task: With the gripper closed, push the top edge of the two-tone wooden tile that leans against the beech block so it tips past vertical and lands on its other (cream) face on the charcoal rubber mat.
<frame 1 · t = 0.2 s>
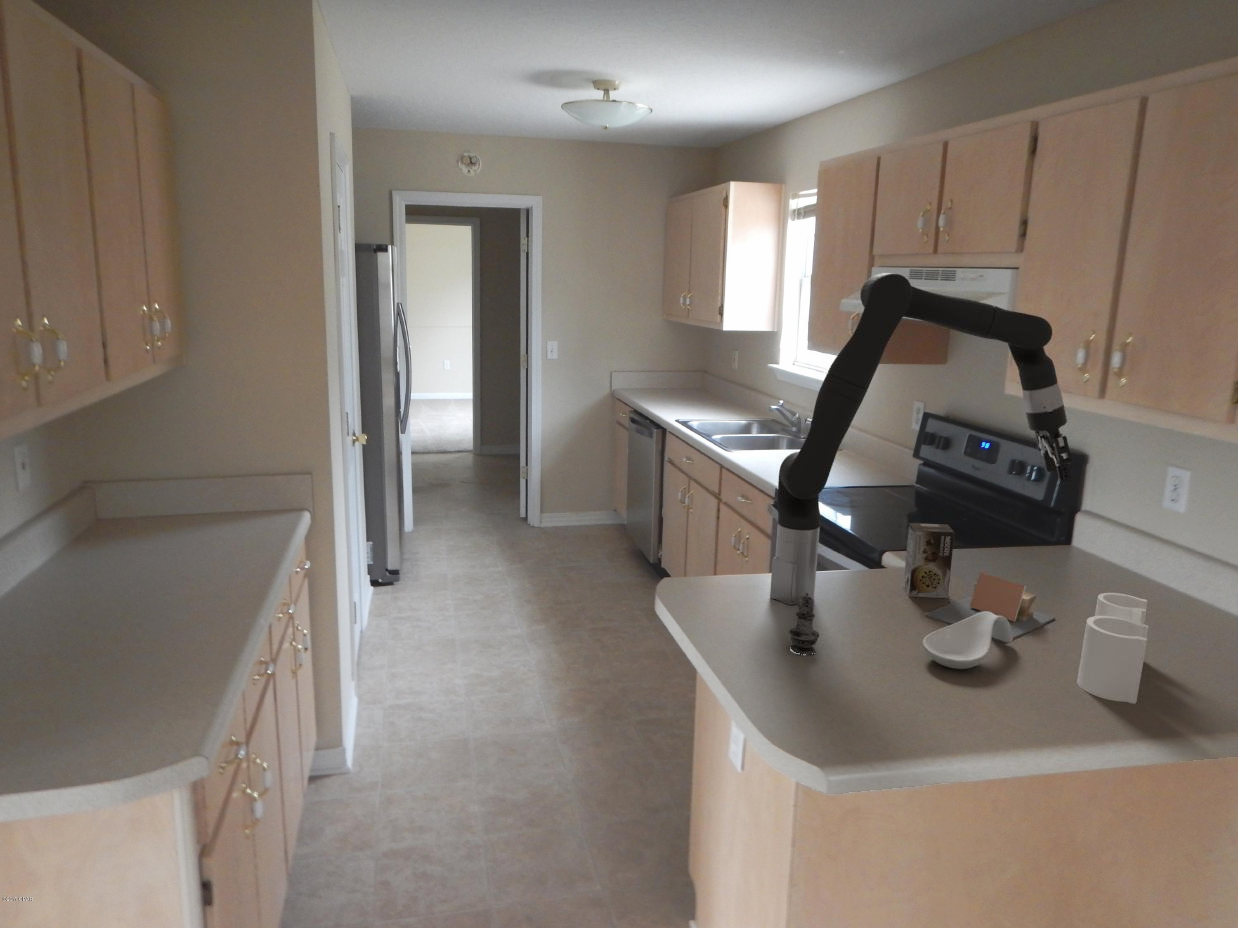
hand: (1058, 475, 195), 30 cm above the countertop, tool tilted 20°, fingers open, 8 cm apart
bracket: (1109, 674, 168), on the countertop
block: (1001, 612, 197), resting on mat
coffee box: (924, 593, 208), on the countertop
tile: (997, 596, 194), point 4 cm above the countertop, touching block, mat
chess piece: (802, 651, 174), on the countertop
spoon rest: (969, 655, 174), on the countertop, touching mat
mat: (990, 617, 194), on the countertop
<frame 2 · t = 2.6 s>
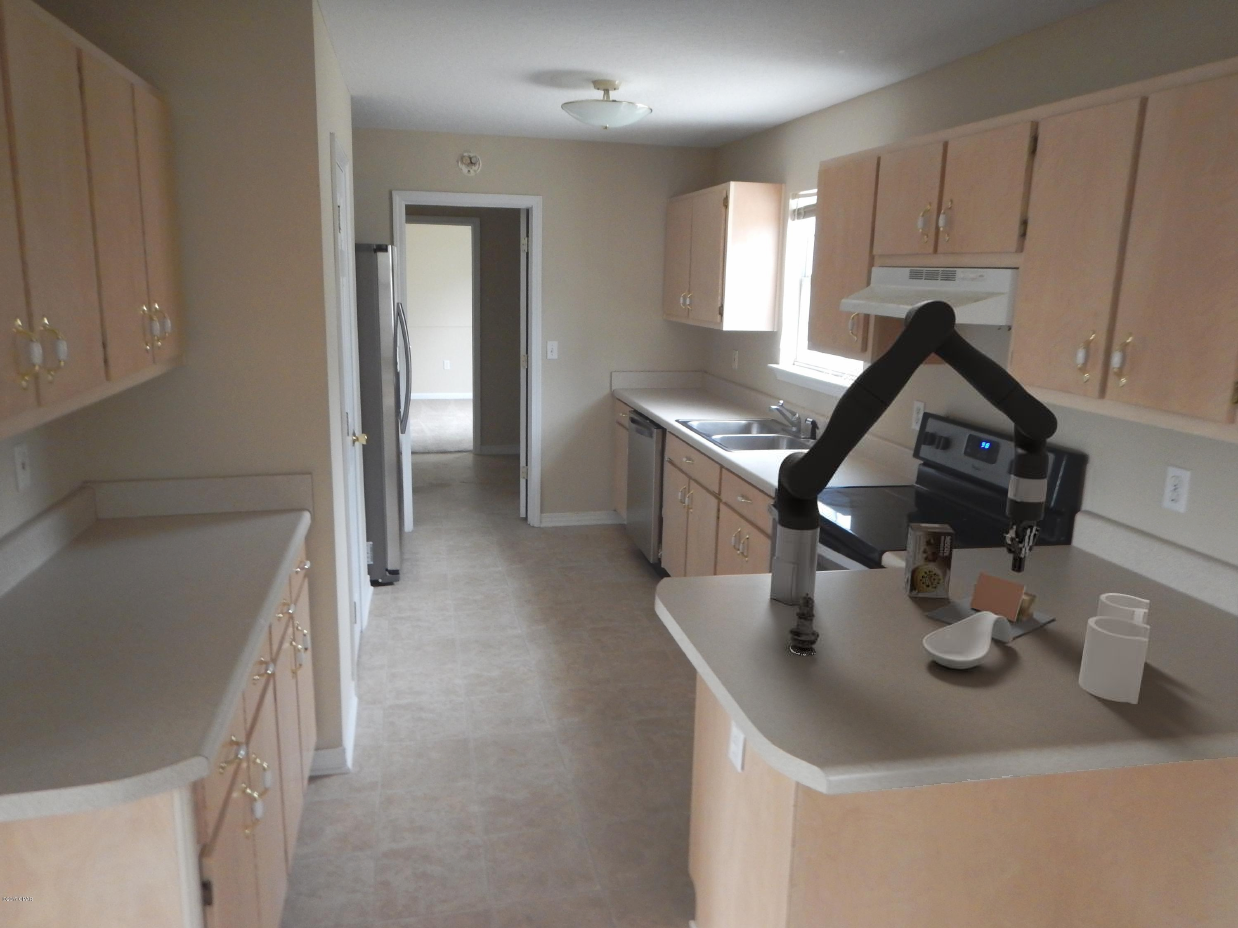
hand: (1017, 571, 198), 9 cm above the countertop, tool pointing down, fingers closed
nothing on the countertop moved.
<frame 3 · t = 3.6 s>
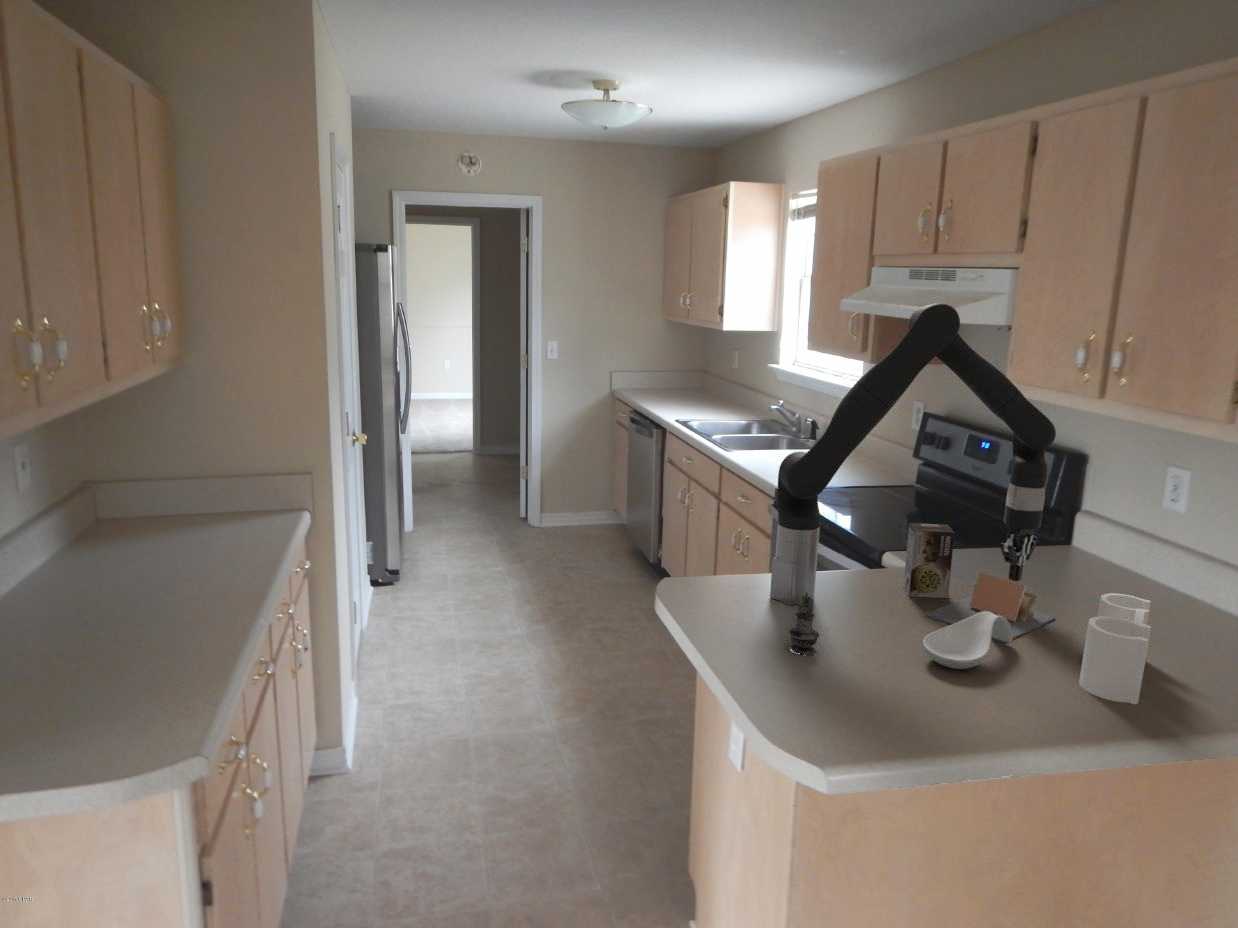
hand: (1014, 579, 198), 7 cm above the countertop, tool pointing down, fingers closed
nothing on the countertop moved.
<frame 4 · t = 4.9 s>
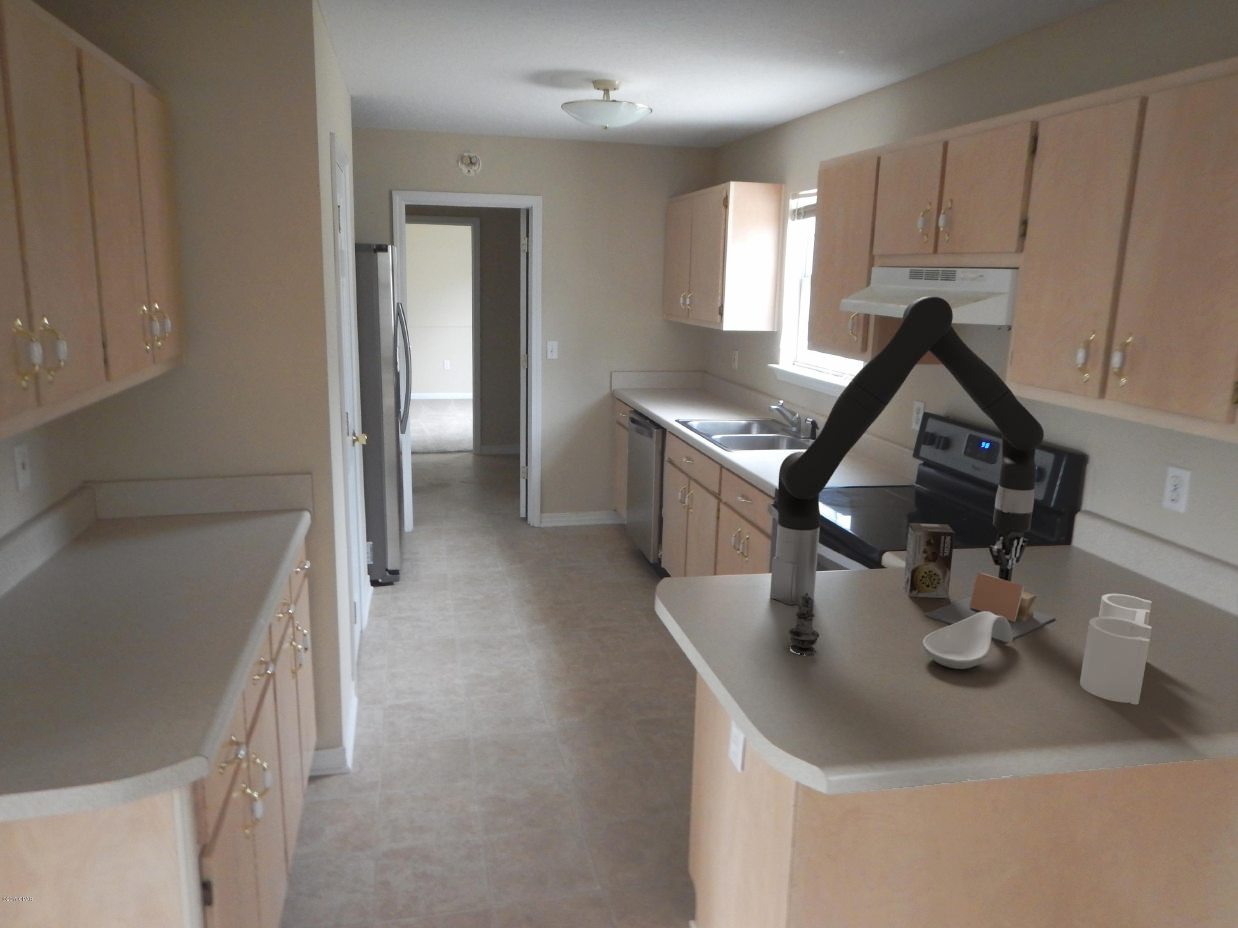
hand: (1004, 582, 196), 7 cm above the countertop, tool pointing down, fingers closed
tile: (996, 596, 194), point 4 cm above the countertop, touching gripper, mat
everything else where it was.
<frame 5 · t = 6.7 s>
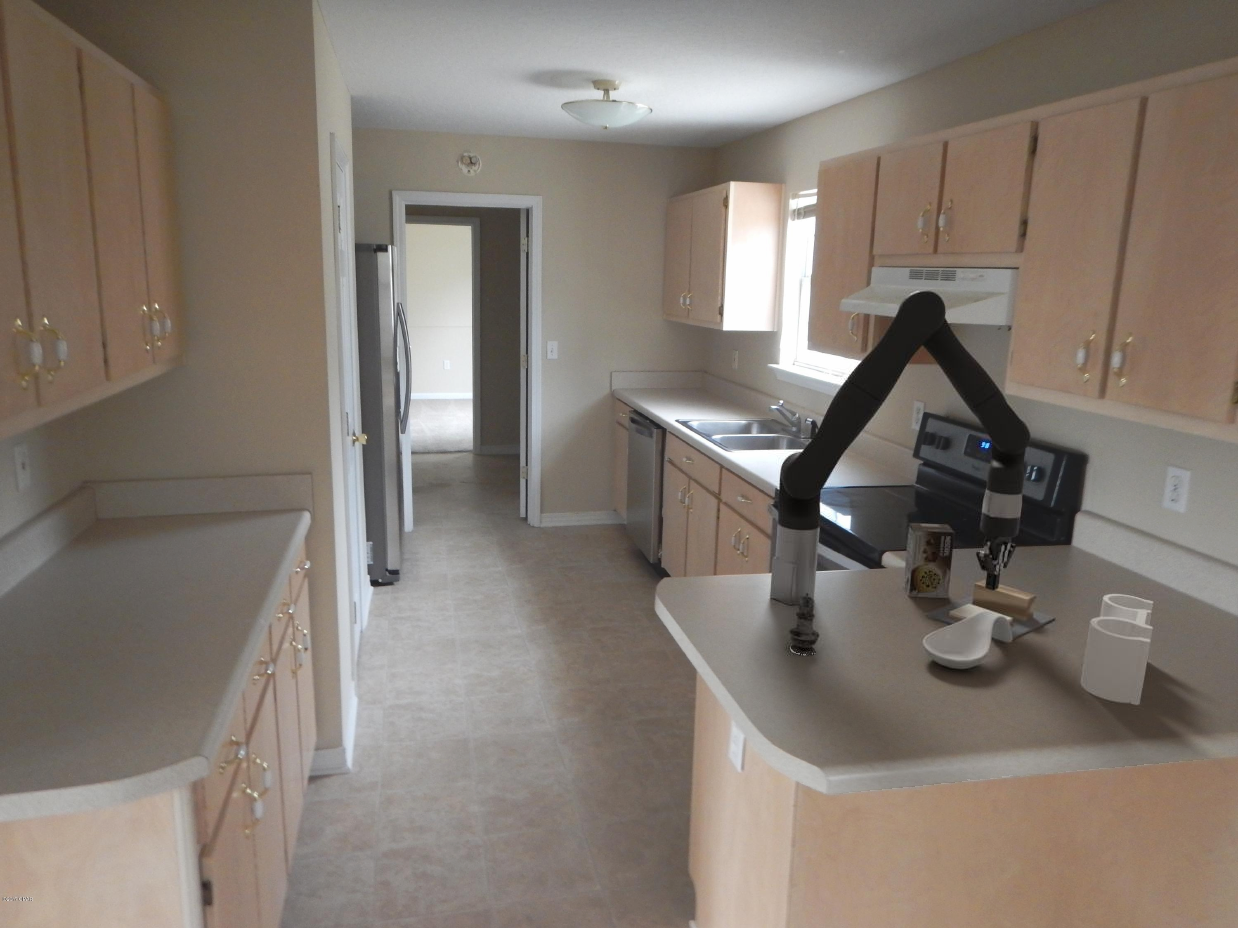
hand: (991, 588, 192), 7 cm above the countertop, tool pointing down, fingers closed
tile: (980, 617, 191), point 1 cm above the countertop, tilted 110°, touching mat
everything else where it was.
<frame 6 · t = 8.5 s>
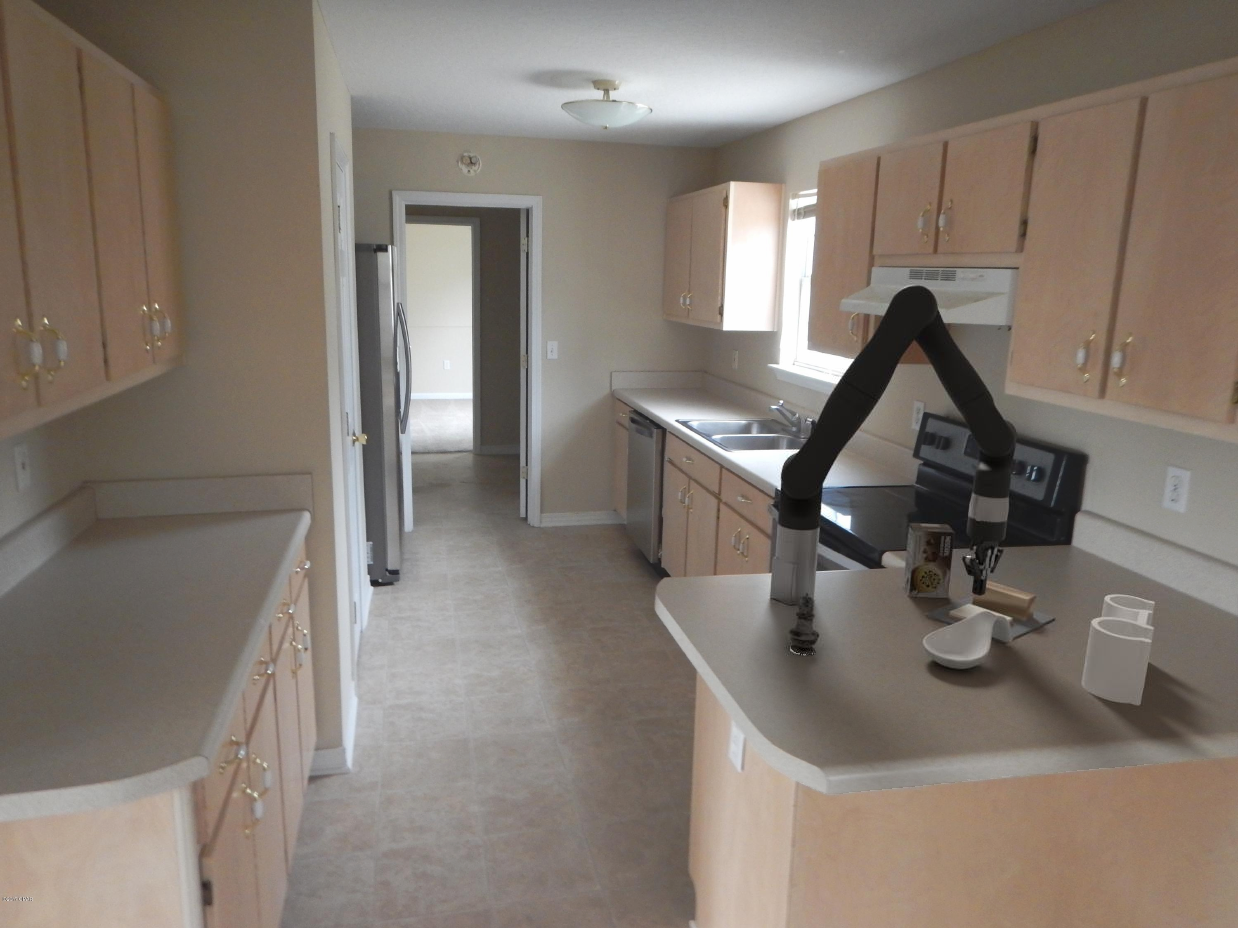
hand: (978, 593, 188), 7 cm above the countertop, tool pointing down, fingers closed
nothing on the countertop moved.
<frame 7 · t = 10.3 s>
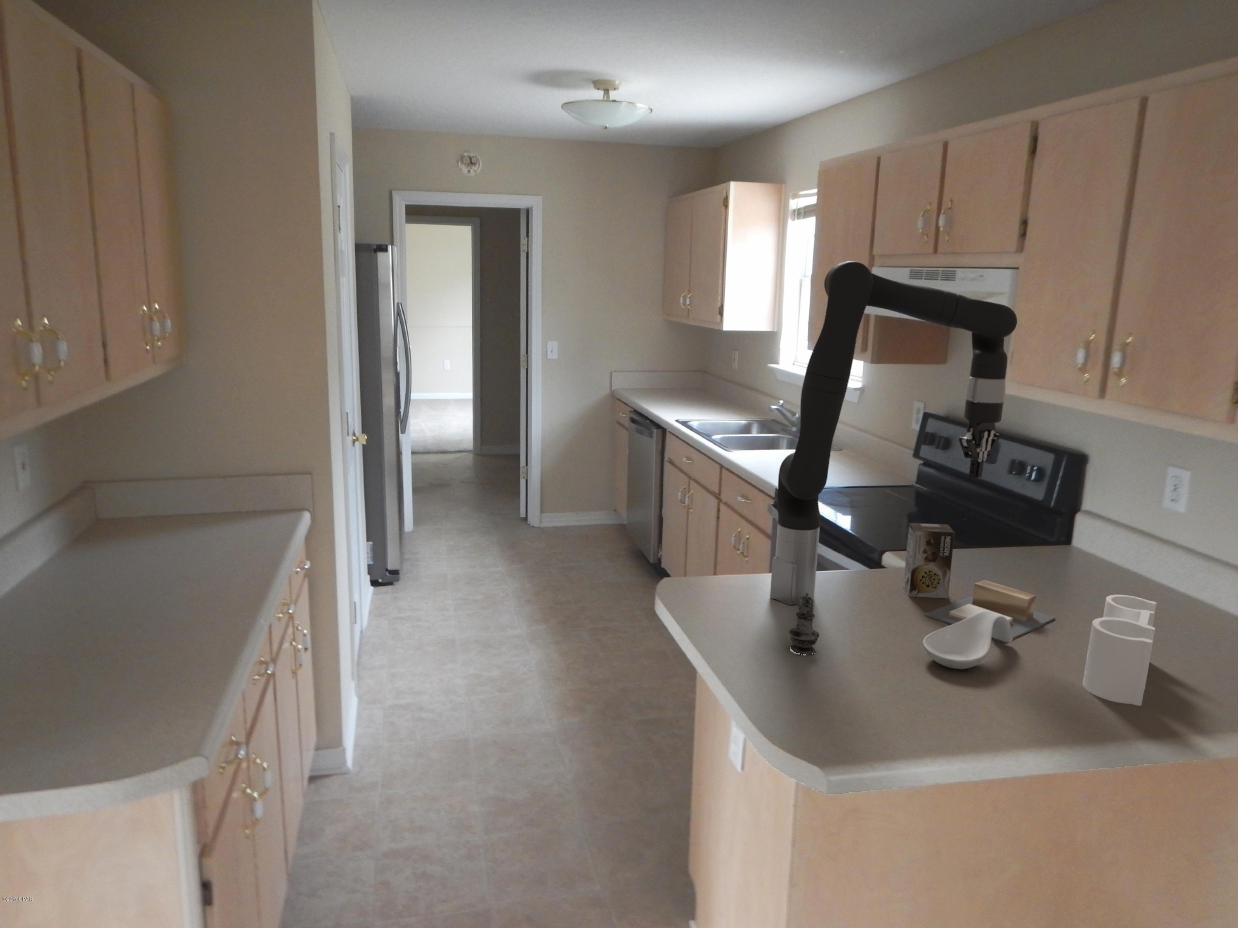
hand: (975, 477, 194), 30 cm above the countertop, tool pointing down, fingers closed
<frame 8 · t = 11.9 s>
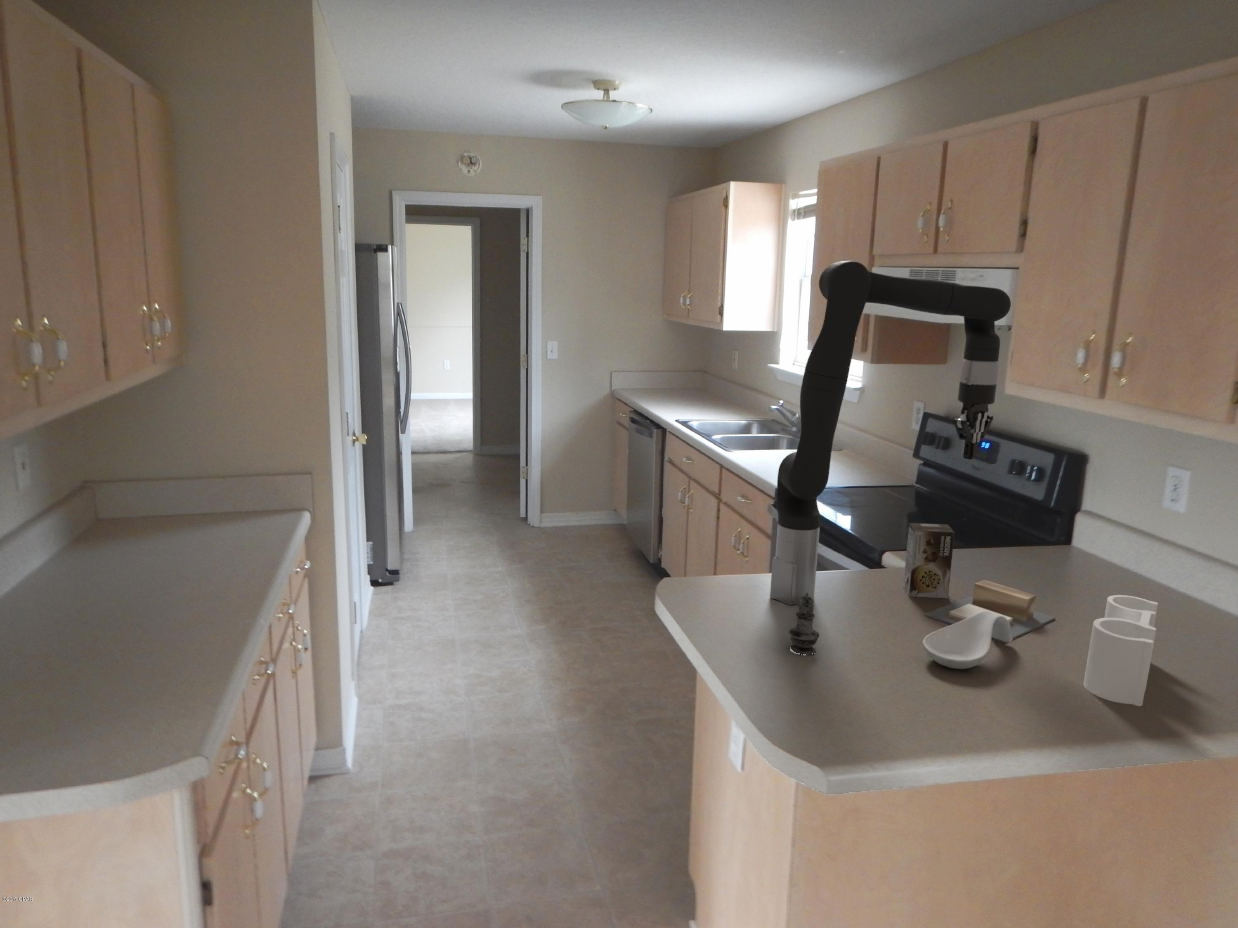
hand: (969, 458, 197), 33 cm above the countertop, tool pointing down, fingers closed
at the end: tile tilted 110°; tile inside the target area (0.2 cm from its centre), point 1.0 cm above the countertop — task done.
